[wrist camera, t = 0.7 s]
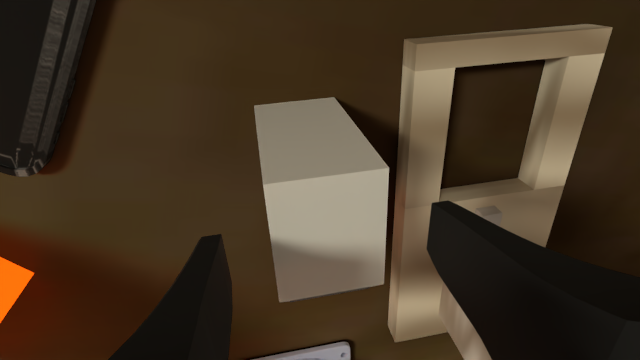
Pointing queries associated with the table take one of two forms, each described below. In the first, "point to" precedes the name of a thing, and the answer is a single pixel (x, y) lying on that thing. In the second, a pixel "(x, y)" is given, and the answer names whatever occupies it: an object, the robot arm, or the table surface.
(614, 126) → the table surface
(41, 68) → the phone
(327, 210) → the off-white rectangular block
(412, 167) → the beige piece
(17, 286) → the orange juice
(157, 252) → the table surface
